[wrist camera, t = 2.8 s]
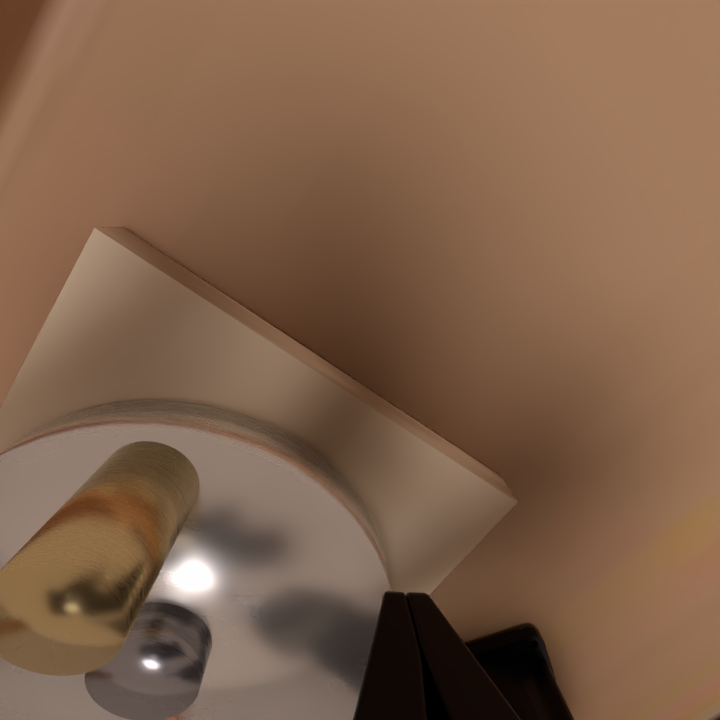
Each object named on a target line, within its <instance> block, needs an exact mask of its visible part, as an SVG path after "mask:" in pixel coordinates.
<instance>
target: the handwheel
mask: <svg viewBox="0 0 720 720" xmlns="http://www.w3.org/2000/svg"><path fill="white" fill-rule="evenodd" d="M386 591H391V586H390V579H389V572H388V565H387V558H386V554H385V550H384V546H383V542H382V538H381V535H380V532H379V530H378V528H377V526H376V523H375V521H374V519H373V516H372V514H371V512H370V511H369V509H368V508H367V506H366V505H365V503H364V501H363V500H362V498H361V497H360V495H359V493H358V492H357V491H356V490H355V489H354V487H353V486H352V485H351V484H350V483H349V482H348V480H347V479H346V478H345V477H344V476H343V475H342V473H341V472H339V471H338V470H337V469H336V468H335V467H334V466H333V465H332V464H330V463H329V462H328V461H327V460H326V459H325V458H324V457H323V456H321V455H320V454H319V453H317V452H316V451H314V450H313V449H312V448H310V447H309V446H307V445H306V444H304V443H303V442H301V441H300V440H298V439H297V438H295V437H293V436H291V435H289V434H287V433H286V432H284V431H282V430H280V429H278V428H276V427H274V426H272V425H270V424H268V423H265V422H262V421H260V420H257V419H254V418H252V417H249V416H247V415H244V414H241V413H238V412H234V411H230V410H226V409H222V408H218V407H214V406H210V405H204V404H196V403H189V402H181V401H158V400H141V401H131V402H121V403H112V404H107V405H102V406H98V407H94V408H89V409H85V410H81V411H78V412H75V413H72V414H70V415H67V416H64V417H62V418H59V419H56V420H54V421H51V422H49V423H47V424H46V425H44V426H42V427H40V428H38V429H36V430H35V431H33V432H31V433H29V434H27V435H25V436H24V437H22V438H21V439H20V440H18V441H17V442H15V443H14V444H12V445H11V446H9V447H8V448H6V449H5V450H4V451H2V452H1V453H0V720H353V717H354V712H355V708H356V704H357V700H358V696H359V692H360V688H361V684H362V680H363V676H364V672H365V668H366V664H367V660H368V655H369V651H370V647H371V643H372V639H373V635H374V631H375V627H376V623H377V619H378V615H379V611H380V607H381V603H382V599H383V595H384V593H385V592H386Z"/></svg>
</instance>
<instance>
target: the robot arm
mask: <svg viewBox="0 0 720 720" xmlns="http://www.w3.org/2000/svg"><path fill="white" fill-rule="evenodd" d="M353 720H574V718H573V716H572V714H571V712H570V710H569V708H568V706H567V704H566V701H565V699H564V697H563V695H562V693H561V691H560V689H559V687H558V685H557V682H556V679H555V676H554V673H553V669H552V666H551V663H550V660H549V656H548V653H547V650H546V647H545V644H544V641H543V639H542V637H541V635H540V633H539V631H538V630H537V629H535V628H531V627H529V628H524V629H521V630H518V631H515V632H512V633H509V634H505V635H502V636H499V637H496V638H493V639H490V640H486V641H483V642H480V643H477V644H474V645H471V646H468V647H467V646H466V645H465V644H464V642H463V641H462V640H461V638H460V637H459V636H458V634H457V633H456V632H455V630H454V629H453V627H452V626H451V625H450V623H449V622H448V621H447V619H446V618H445V617H444V615H443V614H442V613H441V611H440V610H439V609H438V607H437V606H436V604H435V603H434V602H433V600H432V599H431V598H430V596H429V595H428V594H426V593H422V592H408V593H406V595H405V593H404V592H398V591H386V592H385V593H384V595H383V599H382V603H381V607H380V611H379V615H378V619H377V623H376V627H375V631H374V635H373V639H372V643H371V647H370V651H369V655H368V660H367V664H366V668H365V672H364V676H363V680H362V684H361V688H360V692H359V696H358V700H357V704H356V708H355V712H354V717H353Z"/></svg>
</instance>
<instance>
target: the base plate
mask: <svg viewBox="0 0 720 720" xmlns="http://www.w3.org/2000/svg"><path fill="white" fill-rule="evenodd" d="M141 400H158V401H181V402H189V403H196V404H204V405H210V406H214V407H218V408H222V409H226V410H230V411H234V412H238V413H241V414H244V415H247V416H249V417H252V418H254V419H257V420H260V421H262V422H265V423H268V424H270V425H272V426H274V427H276V428H278V429H280V430H282V431H284V432H286V433H287V434H289V435H291V436H293V437H295V438H297V439H298V440H300V441H301V442H303V443H304V444H306V445H307V446H309V447H310V448H312V449H313V450H314V451H316V452H317V453H319V454H320V455H321V456H323V457H324V458H325V459H326V460H327V461H328V462H329V463H330V464H332V465H333V466H334V467H335V468H336V469H337V470H338V471H339V472H341V473H342V475H343V476H344V477H345V478H346V479H347V480H348V482H349V483H350V484H351V485H352V486H353V487H354V489H355V490H356V491H357V492H358V493H359V495H360V497H361V498H362V500H363V501H364V503H365V505H366V506H367V508H368V509H369V511H370V512H371V514H372V516H373V519H374V521H375V523H376V526H377V528H378V530H379V532H380V535H381V538H382V542H383V546H384V550H385V554H386V558H387V565H388V572H389V579H390V586H391V591H398V592H404V593H405V595H406V593H408V592H422V593H426V594H428V595H430V594H431V593H432V591H433V590H434V589H435V588H436V587H437V586H438V585H439V584H440V583H441V582H442V581H443V580H444V579H445V578H446V577H447V576H448V575H449V574H450V573H451V572H452V571H453V570H454V569H455V567H456V566H457V565H458V564H459V563H460V562H461V561H462V560H463V559H464V558H465V557H466V556H467V555H468V554H469V553H470V552H471V551H472V550H473V549H474V548H475V547H476V546H477V545H478V543H479V542H480V541H481V540H482V539H483V538H484V537H485V536H486V535H487V534H488V533H489V532H490V531H491V530H492V529H493V528H494V527H495V526H496V525H497V524H498V523H499V522H500V521H501V519H502V518H503V517H504V516H505V515H506V514H507V513H508V512H509V511H510V510H511V509H512V508H513V507H514V506H515V505H516V504H517V503H518V502H517V500H516V499H515V497H514V496H513V494H512V492H511V491H510V489H509V488H508V486H507V485H506V483H505V482H504V480H503V478H502V477H501V476H500V475H498V474H497V473H495V472H493V471H492V470H490V469H489V468H487V467H486V466H484V465H483V464H481V463H480V462H478V461H477V460H475V459H474V458H472V457H471V456H469V455H468V454H466V453H465V452H463V451H462V450H460V449H459V448H457V447H456V446H454V445H453V444H451V443H450V442H448V441H447V440H445V439H443V438H442V437H440V436H439V435H437V434H436V433H434V432H433V431H431V430H430V429H428V428H427V427H425V426H424V425H422V424H421V423H419V422H418V421H416V420H415V419H413V418H412V417H410V416H409V415H407V414H406V413H404V412H403V411H401V410H400V409H398V408H396V407H395V406H393V405H392V404H390V403H389V402H387V401H386V400H384V399H383V398H381V397H380V396H378V395H377V394H375V393H374V392H372V391H371V390H369V389H368V388H366V387H365V386H363V385H362V384H360V383H359V382H357V381H356V380H354V379H353V378H351V377H350V376H348V375H346V374H345V373H343V372H342V371H340V370H339V369H337V368H336V367H334V366H333V365H331V364H330V363H328V362H327V361H325V360H324V359H322V358H321V357H319V356H318V355H316V354H315V353H313V352H312V351H310V350H309V349H307V348H306V347H304V346H303V345H301V344H299V343H298V342H296V341H295V340H293V339H292V338H290V337H289V336H287V335H286V334H284V333H283V332H281V331H280V330H278V329H277V328H275V327H274V326H272V325H271V324H269V323H268V322H266V321H265V320H263V319H262V318H260V317H259V316H257V315H256V314H254V313H252V312H251V311H249V310H248V309H246V308H245V307H243V306H242V305H240V304H239V303H237V302H236V301H234V300H233V299H231V298H230V297H228V296H227V295H225V294H224V293H222V292H221V291H219V290H218V289H216V288H215V287H213V286H212V285H210V284H209V283H207V282H206V281H204V280H202V279H201V278H199V277H198V276H196V275H195V274H193V273H192V272H190V271H189V270H187V269H186V268H184V267H183V266H181V265H180V264H178V263H177V262H175V261H174V260H172V259H171V258H169V257H168V256H166V255H165V254H163V253H162V252H160V251H159V250H157V249H155V248H154V247H152V246H151V245H149V244H148V243H146V242H145V241H143V240H142V239H140V238H139V237H137V236H136V235H134V234H133V233H131V232H130V231H128V230H127V229H125V228H124V227H102V228H94V230H93V232H92V233H91V235H90V237H89V239H88V241H87V243H86V245H85V247H84V249H83V251H82V253H81V254H80V256H79V258H78V260H77V262H76V264H75V266H74V268H73V270H72V272H71V273H70V275H69V277H68V279H67V281H66V283H65V285H64V287H63V289H62V291H61V293H60V294H59V296H58V298H57V300H56V302H55V304H54V306H53V308H52V310H51V312H50V314H49V315H48V317H47V319H46V321H45V323H44V325H43V327H42V329H41V331H40V333H39V334H38V336H37V338H36V340H35V342H34V344H33V346H32V348H31V350H30V352H29V354H28V355H27V357H26V359H25V361H24V363H23V365H22V367H21V369H20V371H19V373H18V374H17V376H16V378H15V380H14V382H13V384H12V386H11V388H10V390H9V392H8V394H7V395H6V397H5V399H4V401H3V403H2V405H1V407H0V453H1V452H2V451H4V450H5V449H6V448H8V447H9V446H11V445H12V444H14V443H15V442H17V441H18V440H20V439H21V438H22V437H24V436H25V435H27V434H29V433H31V432H33V431H35V430H36V429H38V428H40V427H42V426H44V425H46V424H47V423H49V422H51V421H54V420H56V419H59V418H62V417H64V416H67V415H70V414H72V413H75V412H78V411H81V410H85V409H89V408H94V407H98V406H102V405H107V404H112V403H121V402H131V401H141Z"/></svg>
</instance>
